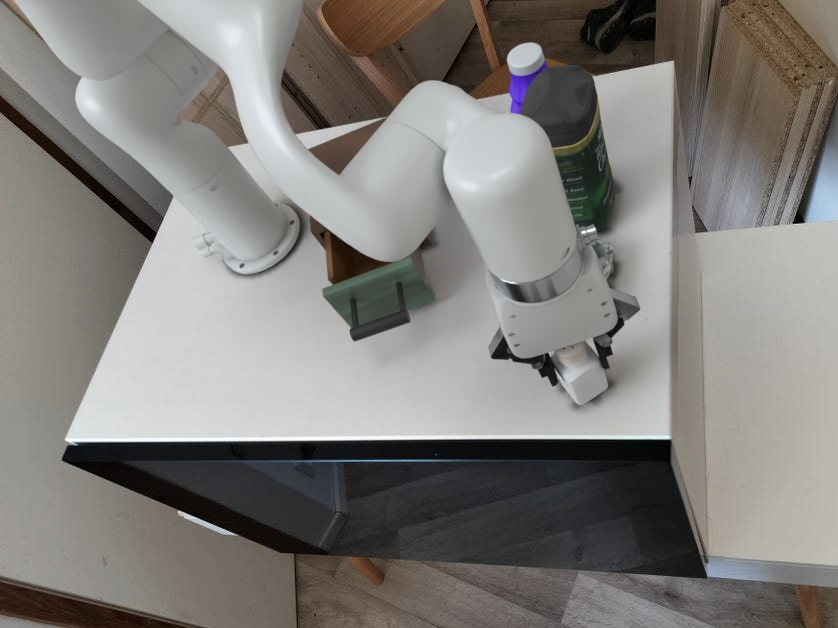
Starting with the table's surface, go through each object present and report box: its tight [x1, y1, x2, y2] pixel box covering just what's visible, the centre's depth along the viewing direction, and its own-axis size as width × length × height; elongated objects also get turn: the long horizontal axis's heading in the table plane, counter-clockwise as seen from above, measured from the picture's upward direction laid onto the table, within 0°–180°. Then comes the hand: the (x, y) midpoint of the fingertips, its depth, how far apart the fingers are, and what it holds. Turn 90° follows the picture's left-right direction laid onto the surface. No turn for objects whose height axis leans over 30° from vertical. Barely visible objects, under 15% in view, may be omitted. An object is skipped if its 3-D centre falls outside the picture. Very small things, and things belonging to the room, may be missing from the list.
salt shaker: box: [550, 340, 609, 406], centre depth 69 cm, size 4×4×10 cm
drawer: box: [321, 230, 437, 342], centre depth 84 cm, size 20×11×8 cm, turn 11°
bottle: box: [506, 42, 549, 114], centre depth 83 cm, size 7×6×17 cm
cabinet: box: [307, 115, 433, 251], centre depth 91 cm, size 16×13×10 cm
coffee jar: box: [520, 64, 616, 233], centre depth 77 cm, size 10×8×19 cm
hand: (577, 364), depth 69 cm, fingers closed on salt shaker, 4 cm apart
